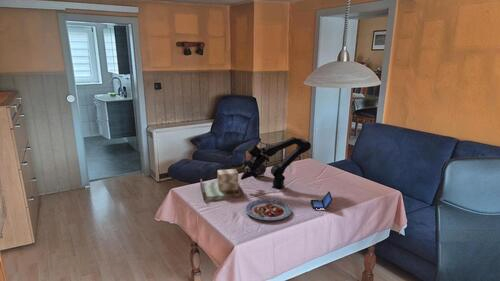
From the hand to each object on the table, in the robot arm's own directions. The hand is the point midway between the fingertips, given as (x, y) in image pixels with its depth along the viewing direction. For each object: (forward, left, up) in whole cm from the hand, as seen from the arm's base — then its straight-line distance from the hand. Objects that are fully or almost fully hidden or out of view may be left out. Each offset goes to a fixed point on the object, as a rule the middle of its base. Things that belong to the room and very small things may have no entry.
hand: (241, 179), depth 208 cm
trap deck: (+8, +10, -8) cm, 15 cm away
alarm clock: (+6, -28, -8) cm, 29 cm away
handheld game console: (-51, -11, -8) cm, 53 cm away
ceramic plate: (-30, +14, -8) cm, 35 cm away
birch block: (+6, +7, -5) cm, 10 cm away
